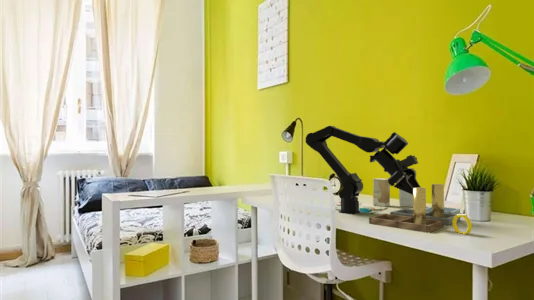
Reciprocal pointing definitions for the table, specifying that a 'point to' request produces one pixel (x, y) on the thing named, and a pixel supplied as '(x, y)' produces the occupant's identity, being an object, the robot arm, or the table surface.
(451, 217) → the tray
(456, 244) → the table surface
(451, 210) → the tray
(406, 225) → the tray
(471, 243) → the table surface
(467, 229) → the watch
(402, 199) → the skincare box
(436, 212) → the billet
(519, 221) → the table surface
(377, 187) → the skincare box
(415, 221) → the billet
